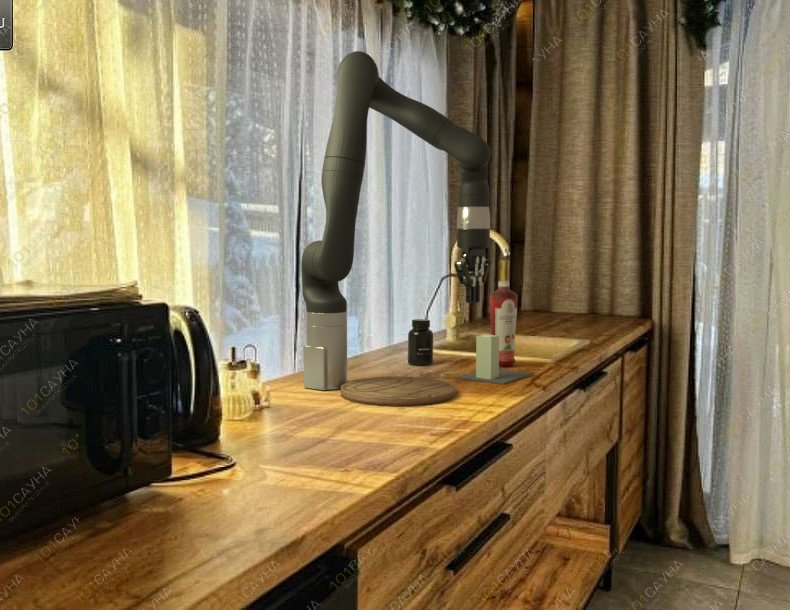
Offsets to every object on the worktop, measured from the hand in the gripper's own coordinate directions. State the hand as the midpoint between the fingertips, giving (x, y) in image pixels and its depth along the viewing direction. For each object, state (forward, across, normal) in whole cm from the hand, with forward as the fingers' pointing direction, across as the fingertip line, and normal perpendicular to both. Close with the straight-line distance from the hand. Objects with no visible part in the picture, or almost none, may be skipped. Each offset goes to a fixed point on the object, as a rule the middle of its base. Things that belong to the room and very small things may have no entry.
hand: (472, 302), depth 174 cm
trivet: (+20, +20, -7) cm, 29 cm away
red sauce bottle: (+19, -26, -6) cm, 33 cm away
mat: (+19, -12, 0) cm, 22 cm away
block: (+19, -8, 0) cm, 20 cm away
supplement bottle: (+19, -16, -25) cm, 35 cm away
